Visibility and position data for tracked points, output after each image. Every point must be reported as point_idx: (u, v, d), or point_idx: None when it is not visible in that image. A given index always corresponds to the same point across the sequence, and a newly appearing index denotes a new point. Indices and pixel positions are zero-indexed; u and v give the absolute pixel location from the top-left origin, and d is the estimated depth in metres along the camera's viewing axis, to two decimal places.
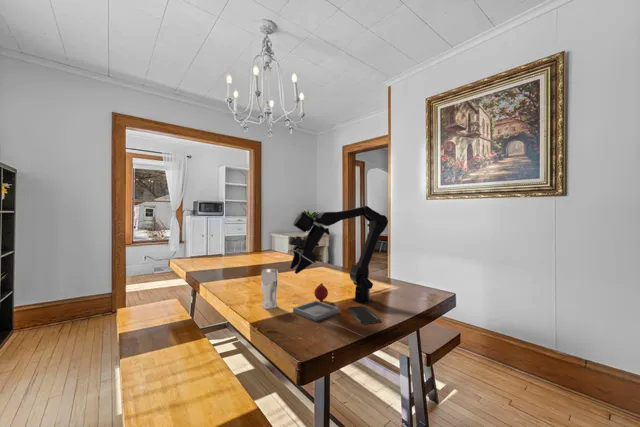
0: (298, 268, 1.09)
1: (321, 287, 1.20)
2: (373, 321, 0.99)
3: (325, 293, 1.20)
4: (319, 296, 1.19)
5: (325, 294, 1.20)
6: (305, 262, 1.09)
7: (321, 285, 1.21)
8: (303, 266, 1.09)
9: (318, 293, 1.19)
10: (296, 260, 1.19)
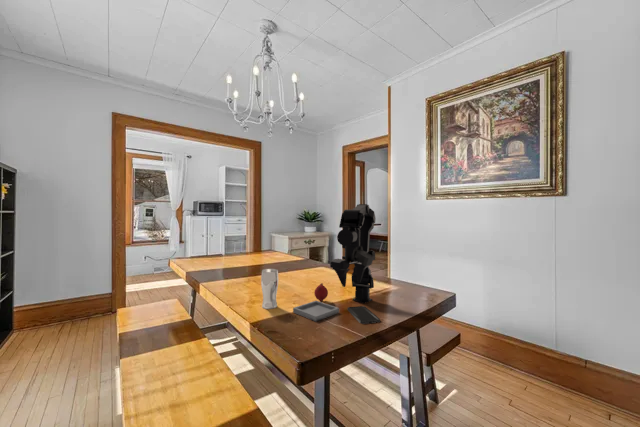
0: None
1: (321, 287, 1.20)
2: (373, 321, 0.99)
3: (325, 293, 1.20)
4: (319, 296, 1.19)
5: (325, 294, 1.20)
6: None
7: (321, 285, 1.21)
8: None
9: (318, 293, 1.19)
10: None
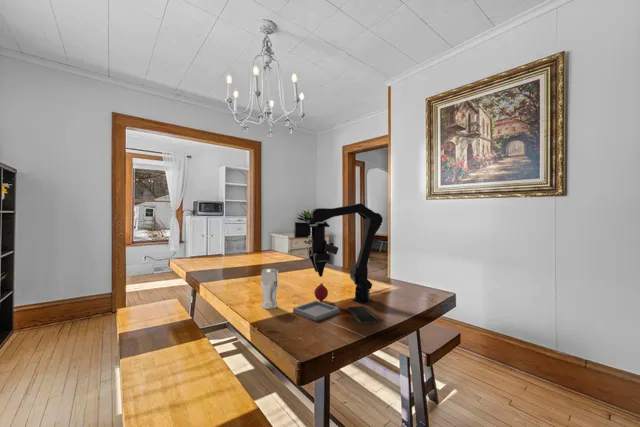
0: None
1: (321, 287, 1.20)
2: (373, 321, 0.99)
3: (325, 293, 1.20)
4: (319, 296, 1.19)
5: (325, 294, 1.20)
6: None
7: (321, 285, 1.21)
8: None
9: (318, 293, 1.19)
10: None
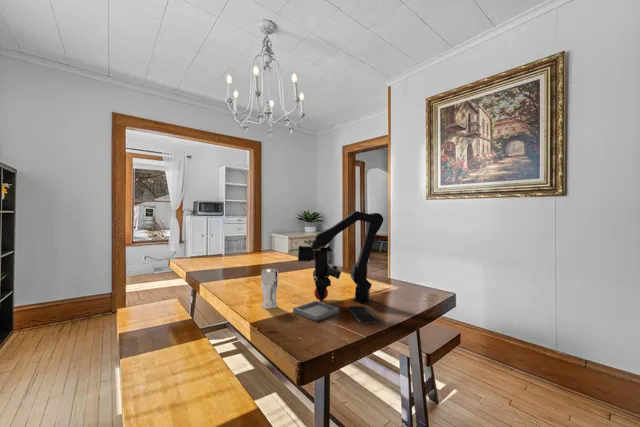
0: None
1: None
2: (373, 321, 0.99)
3: (325, 293, 1.20)
4: None
5: (325, 294, 1.20)
6: None
7: None
8: None
9: None
10: None
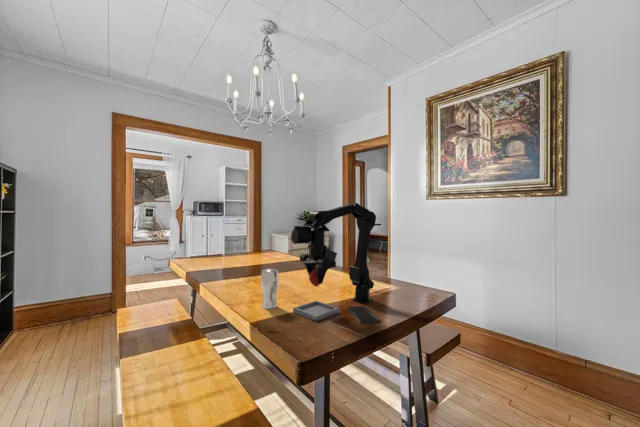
0: None
1: None
2: (373, 321, 0.99)
3: None
4: (317, 280, 1.08)
5: None
6: None
7: None
8: None
9: (316, 278, 1.08)
10: None
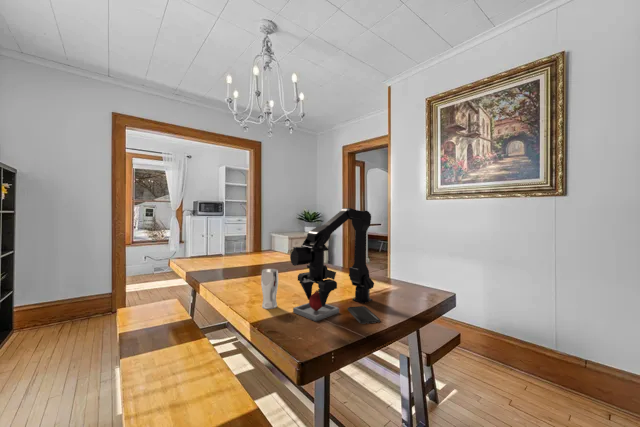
0: None
1: (318, 295, 1.07)
2: (373, 321, 0.99)
3: None
4: (318, 306, 1.05)
5: None
6: None
7: (317, 293, 1.07)
8: None
9: (317, 303, 1.05)
10: None
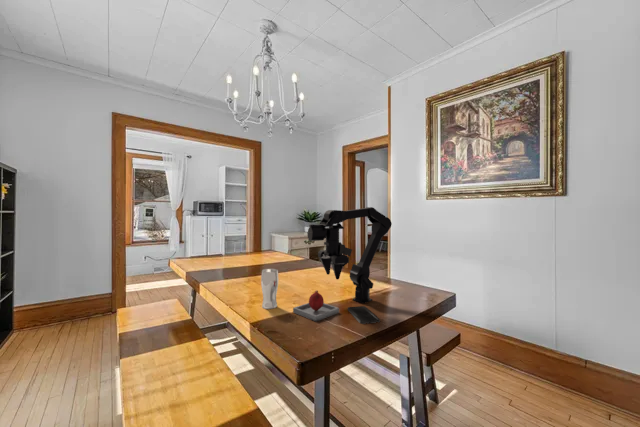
0: None
1: (318, 294, 1.07)
2: (373, 321, 0.99)
3: (323, 301, 1.07)
4: (318, 305, 1.06)
5: (323, 302, 1.07)
6: None
7: (317, 293, 1.08)
8: None
9: (317, 302, 1.05)
10: None
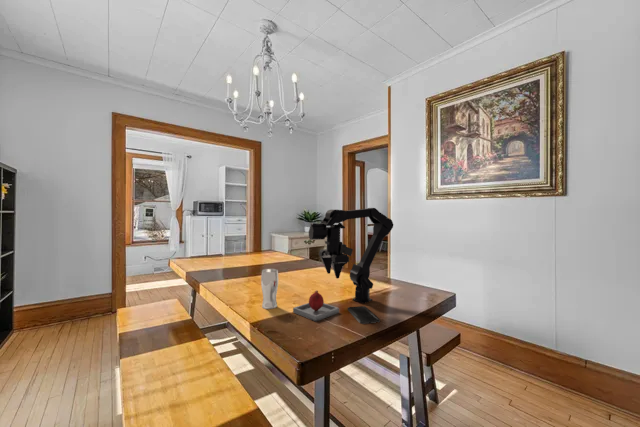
0: None
1: (318, 294, 1.07)
2: (373, 321, 0.99)
3: (323, 301, 1.07)
4: (318, 305, 1.06)
5: (323, 302, 1.07)
6: None
7: (317, 293, 1.08)
8: None
9: (317, 302, 1.05)
10: None
